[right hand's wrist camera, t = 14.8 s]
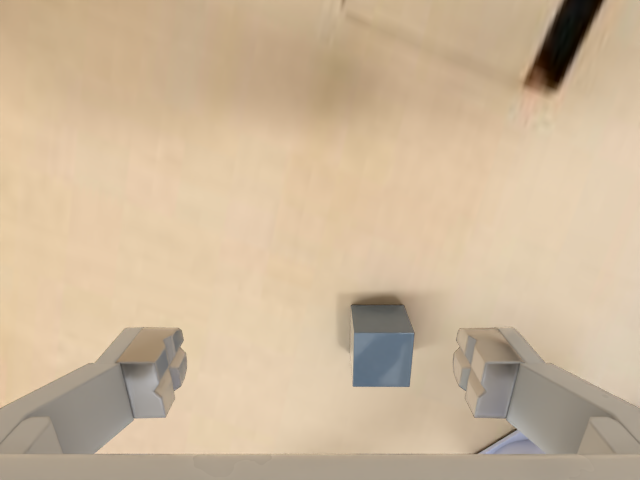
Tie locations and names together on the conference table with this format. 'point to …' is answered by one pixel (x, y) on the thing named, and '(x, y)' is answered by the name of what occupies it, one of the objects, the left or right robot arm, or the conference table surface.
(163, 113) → the conference table surface
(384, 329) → the block
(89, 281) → the conference table surface
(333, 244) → the conference table surface
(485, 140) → the conference table surface
